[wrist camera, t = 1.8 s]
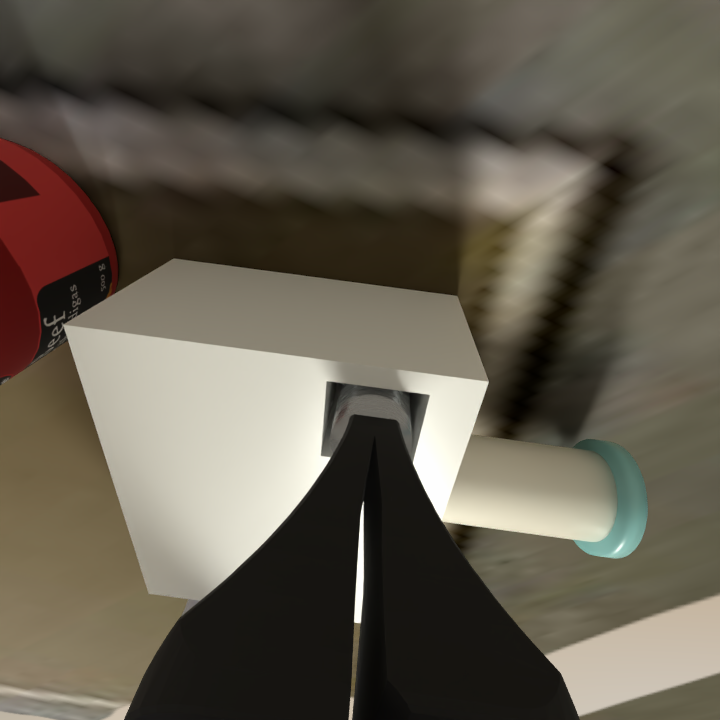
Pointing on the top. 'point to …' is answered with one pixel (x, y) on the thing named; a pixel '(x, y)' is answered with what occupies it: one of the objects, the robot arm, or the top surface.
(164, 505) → the housing
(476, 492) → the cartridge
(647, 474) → the top surface
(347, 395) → the plunger
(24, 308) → the canned food
